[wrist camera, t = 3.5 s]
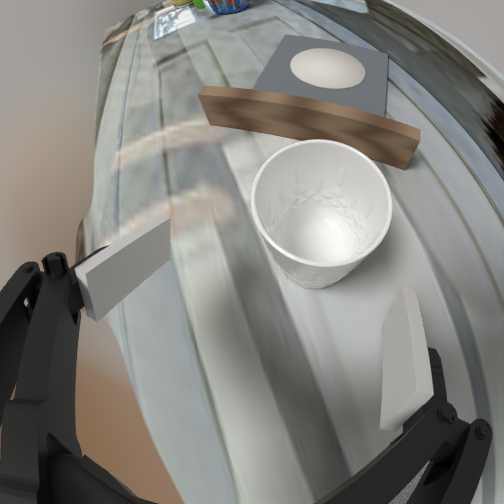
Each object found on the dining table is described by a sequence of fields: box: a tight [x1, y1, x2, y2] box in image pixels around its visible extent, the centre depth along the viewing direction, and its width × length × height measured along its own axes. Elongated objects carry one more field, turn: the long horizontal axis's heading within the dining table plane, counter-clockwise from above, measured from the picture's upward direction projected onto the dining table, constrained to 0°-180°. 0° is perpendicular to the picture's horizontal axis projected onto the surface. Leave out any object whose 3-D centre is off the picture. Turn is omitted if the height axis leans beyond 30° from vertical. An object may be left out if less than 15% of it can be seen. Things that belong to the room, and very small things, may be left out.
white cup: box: [251, 139, 393, 289], centre depth 19 cm, size 8×8×10 cm
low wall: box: [198, 86, 420, 170], centre depth 25 cm, size 22×2×5 cm, turn 70°
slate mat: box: [252, 35, 388, 117], centre depth 30 cm, size 16×16×1 cm
